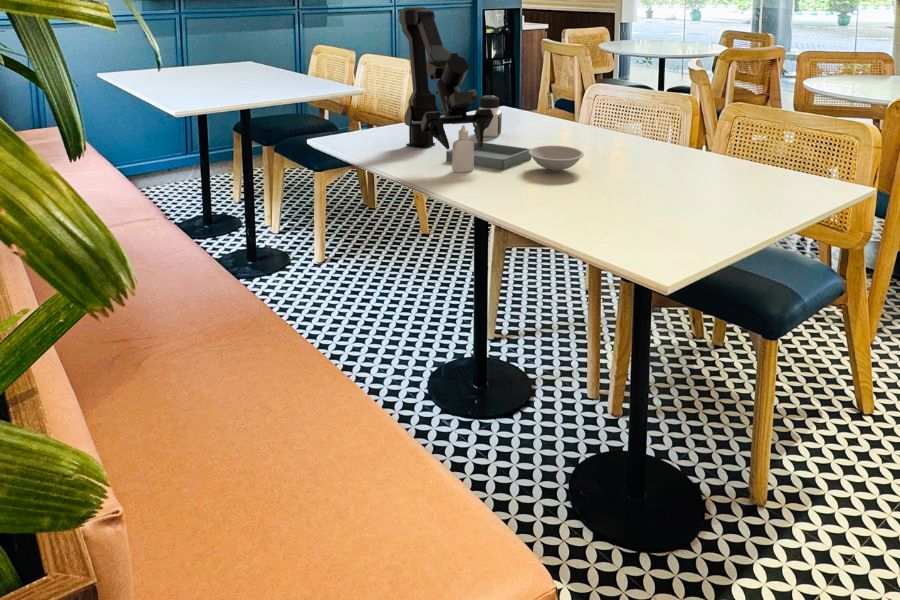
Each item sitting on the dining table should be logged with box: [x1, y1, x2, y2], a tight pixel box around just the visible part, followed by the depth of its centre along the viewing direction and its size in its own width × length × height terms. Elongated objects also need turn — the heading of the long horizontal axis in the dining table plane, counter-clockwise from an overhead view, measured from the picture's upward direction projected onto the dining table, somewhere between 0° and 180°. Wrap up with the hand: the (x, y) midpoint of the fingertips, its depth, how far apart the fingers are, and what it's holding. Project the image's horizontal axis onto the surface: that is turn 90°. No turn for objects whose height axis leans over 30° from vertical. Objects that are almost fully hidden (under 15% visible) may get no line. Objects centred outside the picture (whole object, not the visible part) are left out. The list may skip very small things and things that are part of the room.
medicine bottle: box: [479, 95, 503, 138], centre depth 261 cm, size 7×7×12 cm
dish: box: [529, 145, 585, 173], centre depth 218 cm, size 18×14×5 cm
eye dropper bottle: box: [451, 124, 474, 174], centre depth 216 cm, size 4×6×12 cm
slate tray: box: [445, 141, 533, 171], centre depth 230 cm, size 18×16×3 cm
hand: (465, 147), depth 214 cm, fingers open, 9 cm apart
